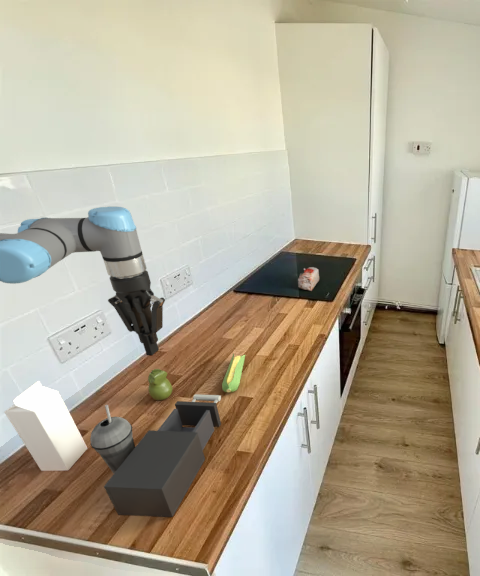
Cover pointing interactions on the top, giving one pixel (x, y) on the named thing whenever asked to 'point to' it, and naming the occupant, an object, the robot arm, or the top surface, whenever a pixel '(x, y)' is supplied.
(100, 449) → the beverage cup
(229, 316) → the top surface
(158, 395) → the pear
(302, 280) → the food item
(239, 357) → the edible corn
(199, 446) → the cabinet
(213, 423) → the drawer
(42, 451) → the milk
